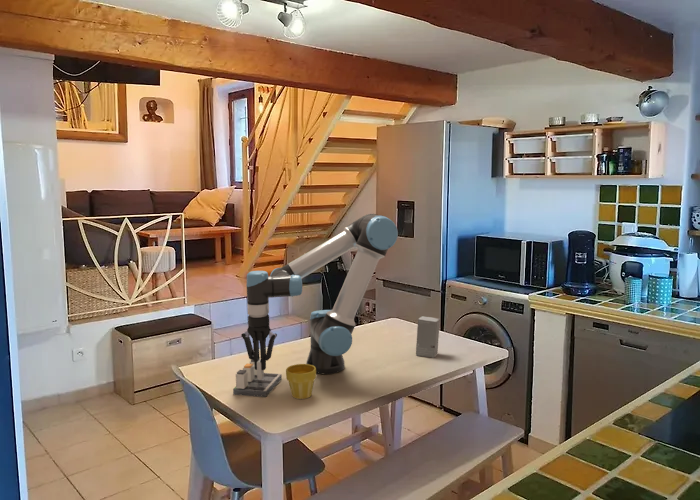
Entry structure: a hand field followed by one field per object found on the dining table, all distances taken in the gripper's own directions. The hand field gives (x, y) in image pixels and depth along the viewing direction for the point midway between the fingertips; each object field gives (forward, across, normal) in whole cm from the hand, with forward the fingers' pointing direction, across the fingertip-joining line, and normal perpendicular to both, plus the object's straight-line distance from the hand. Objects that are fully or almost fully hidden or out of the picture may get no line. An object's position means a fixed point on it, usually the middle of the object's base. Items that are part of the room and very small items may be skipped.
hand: (260, 378), depth 201 cm
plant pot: (+4, -17, +5) cm, 18 cm away
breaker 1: (+1, +4, +7) cm, 8 cm away
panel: (+3, +1, 0) cm, 3 cm away
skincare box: (+4, -56, -48) cm, 74 cm away
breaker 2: (+1, +4, 0) cm, 5 cm away
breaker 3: (+1, +4, -6) cm, 8 cm away
